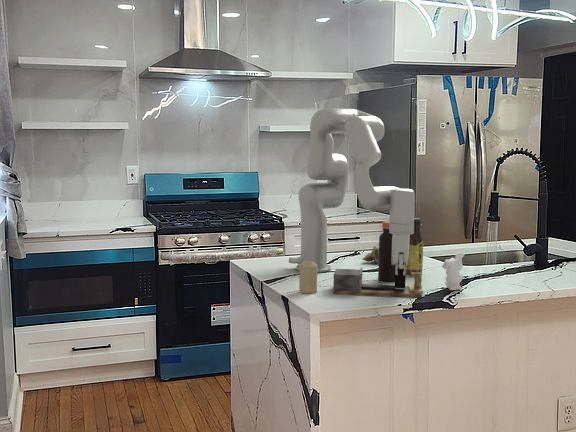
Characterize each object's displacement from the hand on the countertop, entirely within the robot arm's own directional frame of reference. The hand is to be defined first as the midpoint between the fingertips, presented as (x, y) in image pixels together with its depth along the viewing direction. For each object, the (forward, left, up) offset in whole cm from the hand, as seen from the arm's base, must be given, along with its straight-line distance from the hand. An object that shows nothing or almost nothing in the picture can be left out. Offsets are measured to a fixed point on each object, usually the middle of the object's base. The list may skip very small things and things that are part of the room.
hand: (399, 285), depth 211 cm
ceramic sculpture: (-6, +50, -3) cm, 50 cm away
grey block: (-5, 0, -1) cm, 5 cm away
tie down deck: (-6, 0, -2) cm, 7 cm away
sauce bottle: (+6, +31, -2) cm, 32 cm away
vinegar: (-3, +18, -2) cm, 19 cm away
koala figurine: (+18, +8, -2) cm, 19 cm away
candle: (-28, -4, -2) cm, 29 cm away
